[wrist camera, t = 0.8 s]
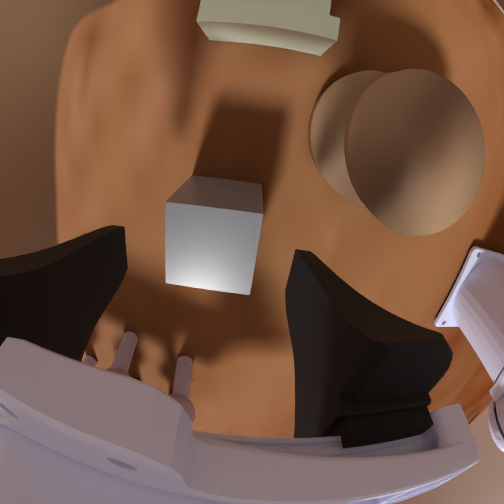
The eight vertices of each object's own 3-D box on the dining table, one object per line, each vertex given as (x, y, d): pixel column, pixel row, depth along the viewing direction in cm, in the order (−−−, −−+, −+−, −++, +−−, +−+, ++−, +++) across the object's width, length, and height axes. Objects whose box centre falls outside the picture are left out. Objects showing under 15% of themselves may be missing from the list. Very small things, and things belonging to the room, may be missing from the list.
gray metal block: (261, 183, 15) (263, 214, 11) (252, 246, 17) (249, 295, 13) (192, 175, 15) (165, 201, 11) (188, 237, 17) (165, 282, 13)
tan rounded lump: (438, 99, 12) (501, 105, 7) (411, 214, 16) (461, 257, 11) (320, 55, 12) (354, 26, 7) (296, 189, 15) (316, 230, 10)
